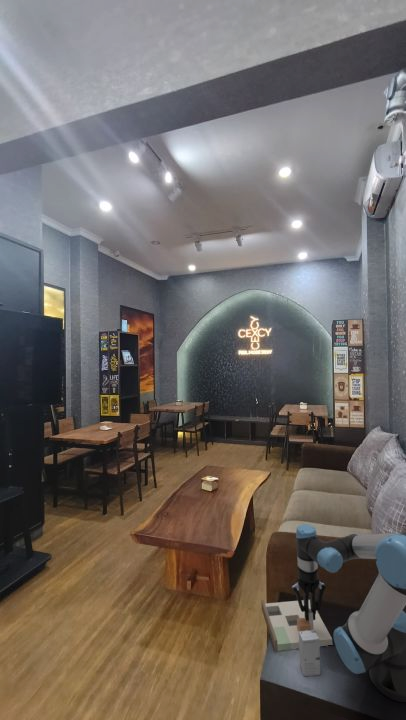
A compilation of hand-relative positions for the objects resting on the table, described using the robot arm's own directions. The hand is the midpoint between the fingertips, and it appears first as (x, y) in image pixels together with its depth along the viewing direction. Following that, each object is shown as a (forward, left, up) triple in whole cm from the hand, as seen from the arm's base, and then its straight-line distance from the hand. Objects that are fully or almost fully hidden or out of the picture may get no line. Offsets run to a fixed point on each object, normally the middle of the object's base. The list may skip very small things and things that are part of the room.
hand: (310, 627), depth 134 cm
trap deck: (+6, +4, -4) cm, 9 cm away
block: (0, +3, -1) cm, 3 cm away
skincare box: (-14, +5, -4) cm, 15 cm away
